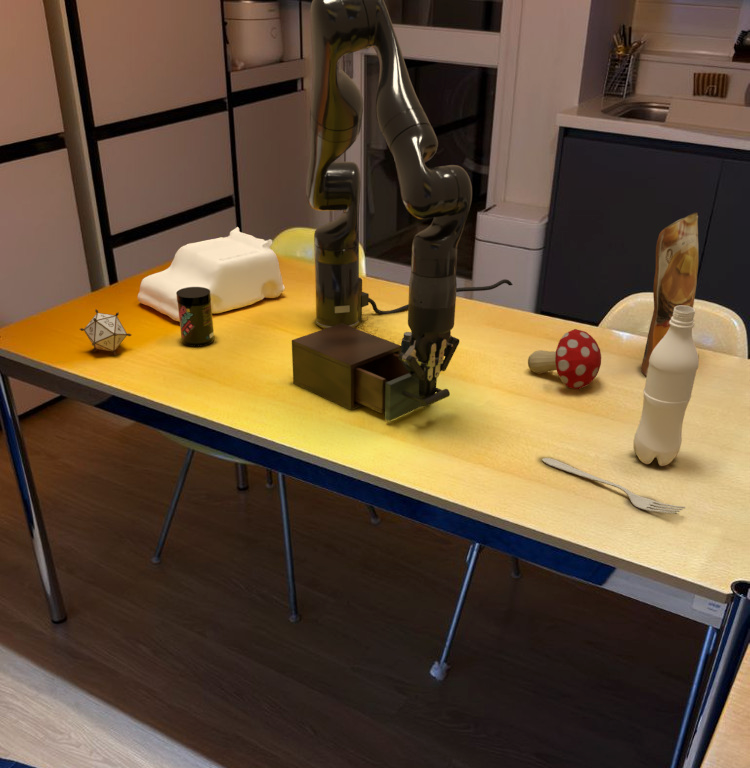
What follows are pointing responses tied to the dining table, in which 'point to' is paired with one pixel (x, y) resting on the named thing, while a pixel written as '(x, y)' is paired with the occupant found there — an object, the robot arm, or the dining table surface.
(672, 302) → the pancake mix bag
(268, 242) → the white toy car
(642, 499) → the fork
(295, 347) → the cabinet
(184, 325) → the supplement container
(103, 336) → the game die
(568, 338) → the decorative mushroom
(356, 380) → the drawer
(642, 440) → the water bottle
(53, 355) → the dining table surface
